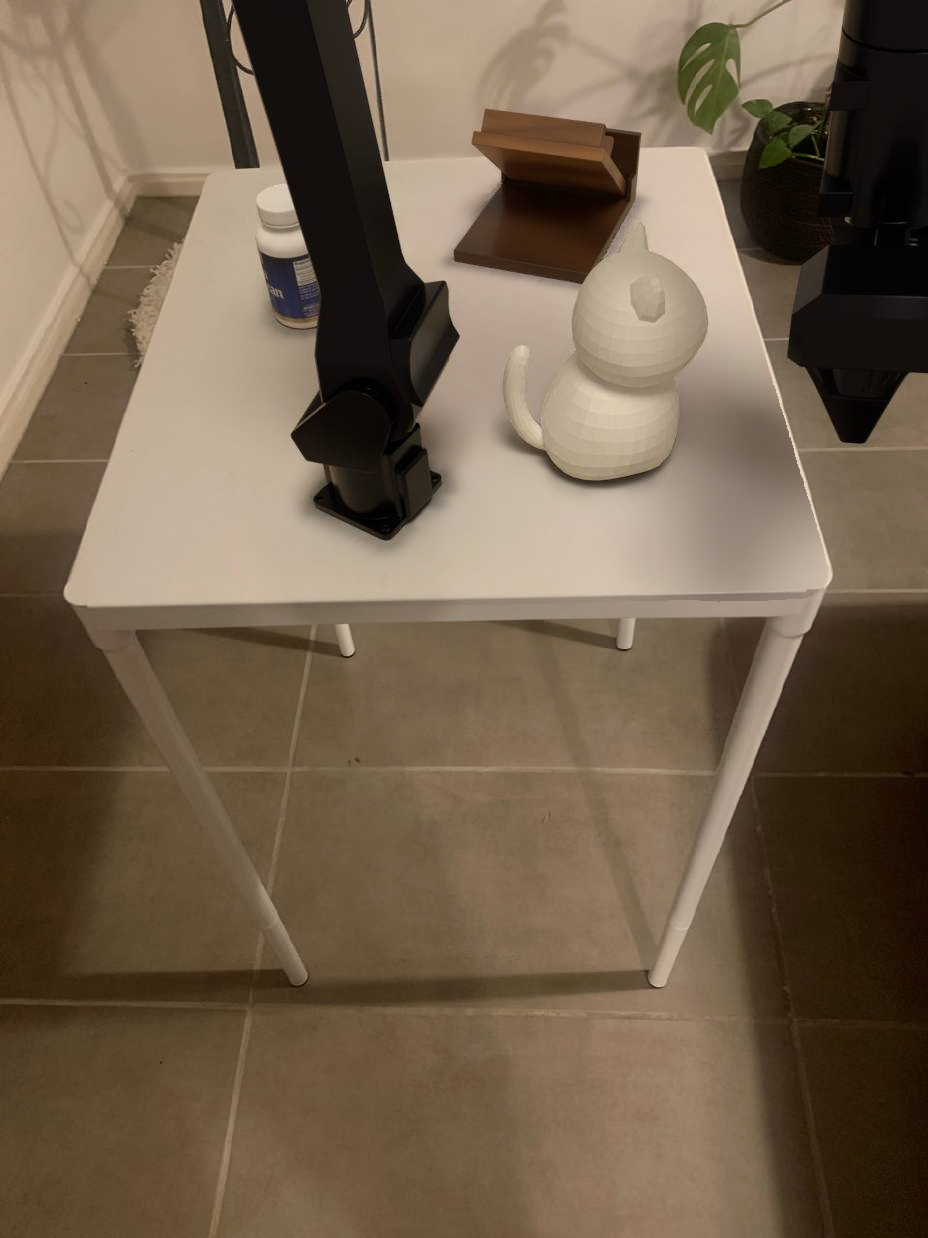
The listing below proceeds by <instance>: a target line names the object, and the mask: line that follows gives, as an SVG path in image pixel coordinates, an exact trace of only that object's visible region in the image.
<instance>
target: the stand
mask: <svg viewBox="0 0 928 1238" xmlns="http://www.w3.org/2000/svg"><path fill="white" fill-rule="evenodd" d="M605 136H612V137H613V139H614V142H613V147H612V151H611V156H610V158H611V159H612V161H613V162H614V164H615V165H616V167H617V168H618V170H619V172H620V173H621V175H622V176H623V178H624V179H625V181H626V182H627V184H628V185H627V191H626V195H625V196H622V195H616V194H609V193H602V192H595V191H589V190H582V189H575V188H569V187H562V186H555V185H548V184H542V183H535V182H528V181H522V180H515V179H509V178H508V177H507V176H506V175H505V174H504V173H503V172H502V171H501V170H500V183H501V184H500V186H499V187H498V189H497V190H496V191H495V192H494V194H493V196H492V197H491V199H489V201H488V202H487V204H486V205H485V207H484V208H483V209H482V211H481V212H480V213H479V215H478V216H477V218H476V219H475V220H474V222H473V223H472V225H470V227H469V229H468V230H467V231H466V233H465V234H464V235H463V237H462V238H461V239H460V241H459V242H458V243H457V245H456V247H455V248H454V249H453V261H454V262H458V263H466V264H470V265H476V266H481V267H487V268H492V269H497V270H498V269H499V270H504V271H509V272H515V273H521V274H525V275H526V274H527V275H532V276H537V277H544V278H549V279H554V280H561V281H565V282H571V283H578V284H581V285H582V284H583V282H584V280H585V279H586V277H587V276H588V274H589V273H590V272H591V270H592V269H593V268H594V267H595V266H596V265H597V264H598V263H600V262H601V261H602V260H604V257H605V254H606V253H607V252H608V250H609V248H610V246H611V244H612V243H613V240H614V239H615V237H616V236H617V233H618V231H619V230H620V228H621V226H622V224H623V223H624V221H625V219H626V217H627V215H628V214H629V212H630V210H631V209H632V207H633V205H634V203H635V201H636V198H637V197H636V195H637V186H638V175H639V164H640V152H641V143H642V132H640V131H634V130H631V131H630V130H625V129H617V128H610V127H606V132H605Z"/></svg>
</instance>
